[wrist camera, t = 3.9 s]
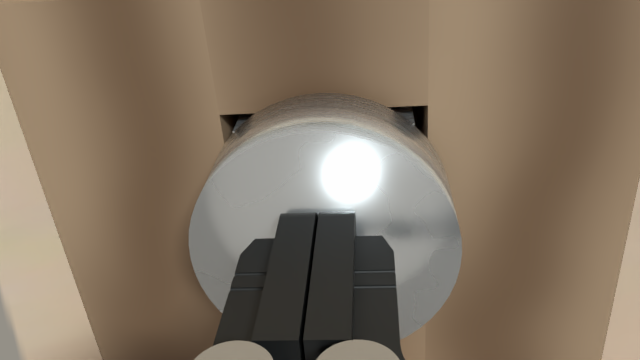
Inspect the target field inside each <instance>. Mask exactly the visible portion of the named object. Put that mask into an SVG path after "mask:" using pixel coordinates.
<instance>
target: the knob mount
mask: <svg viewBox="0 0 640 360" xmlns="http://www.w3.org/2000/svg"><path fill="white" fill-rule="evenodd" d="M0 69H1V72H2V75H3V77H4V80H5V83H6V86H7V89H8V92H9V95H10V97H11V100H12V103H13V106H14V109H15V112H16V114H17V117H18V120H19V123H20V126H21V129H22V131H23V134H24V137H25V140H26V143H27V146H28V149H29V151H30V154H31V157H32V160H33V163H34V166H35V168H36V171H37V174H38V177H39V180H40V183H41V185H42V188H43V191H44V194H45V197H46V200H47V203H48V205H49V208H50V211H51V214H52V217H53V220H54V222H55V225H56V228H57V231H58V234H59V237H60V239H61V242H62V245H63V248H64V251H65V254H66V257H67V259H68V262H69V265H70V268H71V271H72V274H73V276H74V279H75V282H76V285H77V288H78V291H79V293H80V296H81V299H82V302H83V305H84V308H85V311H86V313H87V316H88V319H89V322H90V325H91V328H92V330H93V333H94V336H95V339H96V342H97V345H98V347H99V350H100V353H101V356H102V359H103V360H194V359H195V358H196V357H197V356H198V355H199V354H201V353H202V352H203V351H205V350H207V349H208V348H210V347H212V346H213V343H214V340H215V336H216V333H217V330H218V326H219V323H220V320H221V316H222V313H221V312H220V311H219V310H218V309H217V307H216V306H215V305H214V304H213V303H212V302H211V300H210V299H209V298H208V296H207V295H206V293H205V292H204V290H203V288H202V287H201V285H200V283H199V281H198V279H197V277H196V274H195V272H194V269H193V265H192V262H191V258H190V251H189V227H190V221H191V216H192V213H193V210H194V207H195V204H196V202H197V200H198V197H199V195H200V193H201V191H202V189H203V187H204V185H205V183H206V181H207V178H208V176H209V174H210V172H211V170H212V168H213V166H214V164H215V162H216V159H217V157H218V155H219V153H220V152H221V150H222V148H223V146H224V144H225V143H226V141H227V140H228V139H229V137H230V136H231V135H232V133H233V129H234V127H235V125H236V123H237V120H238V118H239V116H240V114H251V113H256V112H258V111H260V110H262V109H264V108H265V107H267V106H269V105H271V104H274V103H276V102H279V101H281V100H284V99H287V98H291V97H295V96H300V95H305V94H314V93H339V94H347V95H354V96H358V97H361V98H365V99H369V100H372V101H374V102H377V103H379V104H382V105H384V106H387V107H403V106H412V110H413V116H414V122H415V126H416V127H417V128H418V129H419V130H420V131H421V132H422V133H423V134H424V135H425V136H426V137H427V139H428V140H429V141H430V143H431V144H432V145H433V147H434V148H435V150H436V152H437V153H438V155H439V157H440V159H441V161H442V163H443V166H444V169H445V171H446V174H447V178H448V182H449V186H450V191H451V195H452V199H453V203H454V207H455V211H456V215H457V219H458V224H459V229H460V234H461V239H462V258H461V265H460V270H459V274H458V277H457V280H456V283H455V285H454V287H453V289H452V291H451V293H450V295H449V297H448V298H447V300H446V301H445V303H444V304H443V306H442V307H441V308H440V309H439V311H438V312H437V313H436V314H435V315H434V316H433V317H432V318H431V319H430V320H429V321H428V322H427V323H425V324H424V325H423V326H422V327H421V328H419V329H418V330H416V331H415V332H413V333H412V334H410V335H409V336H407V337H405V338H403V339H401V340H400V345H401V351H402V354H403V357H404V359H405V360H601V358H602V353H603V349H604V344H605V339H606V334H607V330H608V325H609V320H610V315H611V311H612V306H613V301H614V296H615V292H616V287H617V282H618V277H619V273H620V268H621V263H622V258H623V254H624V249H625V244H626V239H627V235H628V230H629V225H630V220H631V216H632V211H633V206H634V201H635V197H636V192H637V187H638V182H639V177H640V0H0Z"/></svg>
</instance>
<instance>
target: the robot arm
mask: <svg viewBox="0 0 640 360" xmlns="http://www.w3.org/2000/svg"><path fill="white" fill-rule="evenodd" d="M194 360H405V359H404V357H403V354H402V351H401V345H400V331H399V317H398V303H397V289H396V274H395V260H394V251H393V249H392V248H391V247H390V245H389V244H388V243H387V241H386V240H385V239H384V237H383V236H382V235H379V236H357V231H356V214H355V211H345V212H319V216H318V215H317V213H316V212H315V213H281V214H280V217H279V221H278V225H277V230H276V234H275V238H263V239H254V240H253V241H252V243H251V244H250V245H249V246H248V247H247V248H246V249H245V250H244V251H243V252H242V253H241V254H240V257H239V260H238V263H237V267H236V270H235V276H234V277H233V280H232V283H231V287H230V291H229V293H228V297H227V300H226V303H225V306H224V310H223V313H222V316H221V320H220V323H219V326H218V330H217V333H216V336H215V340H214V343H213V346H212V347H210V348H208V349H207V350H205V351H203V352H202V353H201V354H199V355H198V356H197V357H196V358H195V359H194Z"/></svg>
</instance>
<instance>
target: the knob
mask: <svg viewBox="0 0 640 360" xmlns="http://www.w3.org/2000/svg"><path fill="white" fill-rule="evenodd" d="M345 211H355V214H356V231H357V236H379V235H382V236H383V237H384V239H385V240H386V241H387V243H388V244H389V245H390V247H391V248H392V249H393V251H394V260H395V274H396V289H397V303H398V317H399V331H400V340H401V339H403V338H405V337H407V336H409V335H410V334H412V333H413V332H415V331H416V330H418V329H419V328H421V327H422V326H423V325H424V324H425V323H427V322H428V321H429V320H430V319H431V318H432V317H433V316H434V315H435V314H436V313H437V312H438V311H439V309H440V308H441V307H442V306H443V304H444V303H445V301H446V300H447V298H448V297H449V295H450V293H451V291H452V289H453V287H454V285H455V283H456V280H457V277H458V274H459V270H460V265H461V258H462V239H461V234H460V229H459V224H458V219H457V215H456V211H455V207H454V203H453V199H452V195H451V191H450V186H449V182H448V178H447V174H446V171H445V169H444V166H443V163H442V161H441V159H440V157H439V155H438V153H437V152H436V150H435V148H434V147H433V145H432V144H431V143H430V141H429V140H428V139H427V137H426V136H425V135H424V134H423V133H422V132H421V131H420V130H419V129H418V128H417V127H416V126H415V122H414V116H413V110H412V106H403V107H387V106H384V105H382V104H379V103H377V102H374V101H372V100H369V99H365V98H361V97H358V96H354V95H347V94H339V93H314V94H305V95H300V96H295V97H291V98H287V99H284V100H281V101H279V102H276V103H274V104H271V105H269V106H267V107H265V108H264V109H262V110H260V111H258V112H256V113H251V114H240V116H239V118H238V120H237V123H236V125H235V127H234V129H233V133H232V135H231V136H230V137H229V139H228V140H227V141H226V143H225V144H224V146H223V148H222V150H221V152H220V153H219V155H218V157H217V159H216V162H215V164H214V166H213V168H212V170H211V172H210V174H209V176H208V178H207V181H206V183H205V185H204V187H203V189H202V191H201V193H200V195H199V197H198V200H197V202H196V204H195V207H194V210H193V213H192V216H191V221H190V227H189V251H190V258H191V262H192V265H193V269H194V272H195V274H196V277H197V279H198V281H199V283H200V285H201V287H202V288H203V290H204V292H205V293H206V295H207V296H208V298H209V299H210V300H211V302H212V303H213V304H214V305H215V306H216V307H217V309H218V310H219V311H220V312H221V313H223V310H224V306H225V303H226V300H227V297H228V293H229V291H230V287H231V283H232V280H233V277H234V276H235V270H236V267H237V263H238V260H239V257H240V254H241V253H242V252H243V251H244V250H245V249H246V248H247V247H248V246H249V245H250V244H251V243H252V241H253V240H254V239H263V238H275V234H276V230H277V225H278V221H279V217H280V214H281V213H315V212H316V213H317V215H318V216H319V212H345Z"/></svg>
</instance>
